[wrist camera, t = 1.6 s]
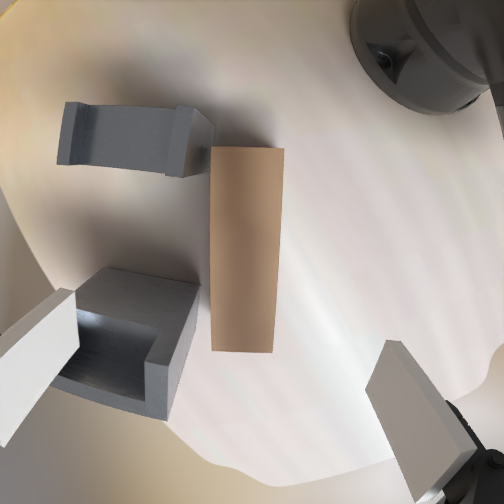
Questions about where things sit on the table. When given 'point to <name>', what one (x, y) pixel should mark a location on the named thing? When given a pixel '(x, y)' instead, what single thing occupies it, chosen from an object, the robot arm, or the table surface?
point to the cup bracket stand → (129, 283)
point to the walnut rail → (244, 246)
